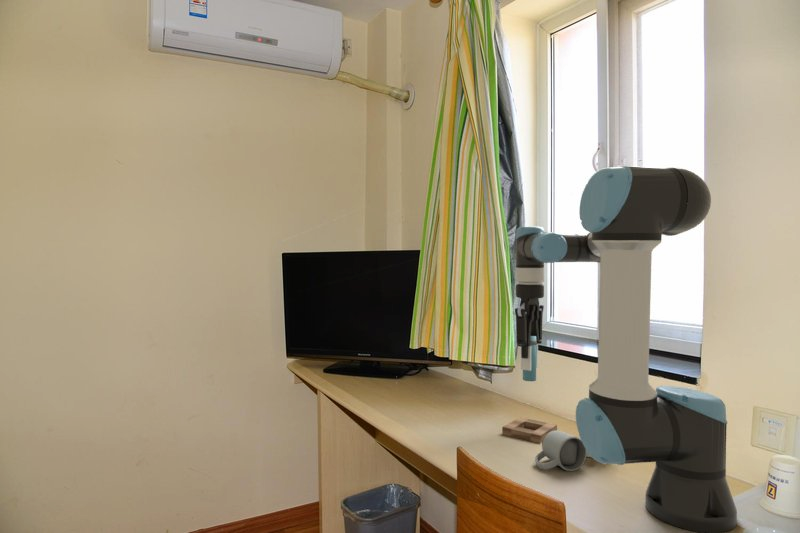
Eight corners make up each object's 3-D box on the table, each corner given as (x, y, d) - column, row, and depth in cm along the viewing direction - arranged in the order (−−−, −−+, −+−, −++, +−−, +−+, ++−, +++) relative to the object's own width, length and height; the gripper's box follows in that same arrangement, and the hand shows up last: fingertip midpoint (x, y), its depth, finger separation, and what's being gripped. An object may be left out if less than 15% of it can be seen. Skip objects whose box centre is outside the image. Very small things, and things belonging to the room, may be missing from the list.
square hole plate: (540, 443, 136) (540, 435, 136) (502, 434, 143) (502, 427, 143) (556, 431, 145) (556, 424, 145) (520, 424, 152) (520, 417, 152)
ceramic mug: (565, 456, 127) (565, 424, 127) (587, 468, 120) (587, 435, 119) (527, 462, 124) (527, 430, 124) (547, 476, 116) (547, 441, 116)
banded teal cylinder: (532, 382, 141) (533, 337, 141) (519, 380, 144) (520, 336, 143) (538, 379, 144) (538, 336, 144) (525, 377, 147) (526, 334, 146)
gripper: (530, 281, 152) (529, 361, 153) (503, 284, 139) (502, 371, 140) (554, 282, 147) (554, 365, 148) (529, 285, 134) (529, 376, 135)
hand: (529, 368), depth 144 cm, fingers closed on banded teal cylinder, 3 cm apart
